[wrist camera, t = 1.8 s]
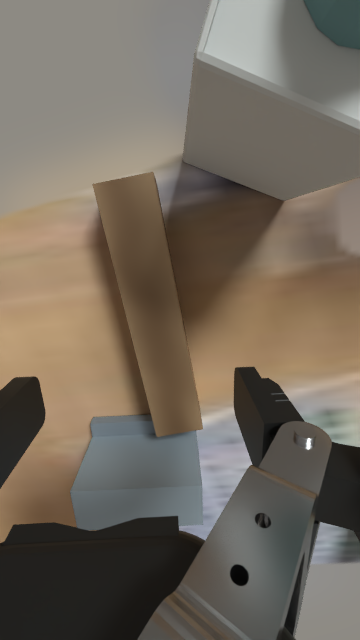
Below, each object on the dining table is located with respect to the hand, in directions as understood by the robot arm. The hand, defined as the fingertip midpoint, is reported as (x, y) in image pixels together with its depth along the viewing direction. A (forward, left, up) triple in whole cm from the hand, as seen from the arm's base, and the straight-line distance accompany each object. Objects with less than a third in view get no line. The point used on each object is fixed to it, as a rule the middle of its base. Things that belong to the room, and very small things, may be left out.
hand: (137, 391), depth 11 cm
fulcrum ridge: (+2, +14, -14) cm, 20 cm away
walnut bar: (0, 0, -14) cm, 14 cm away
